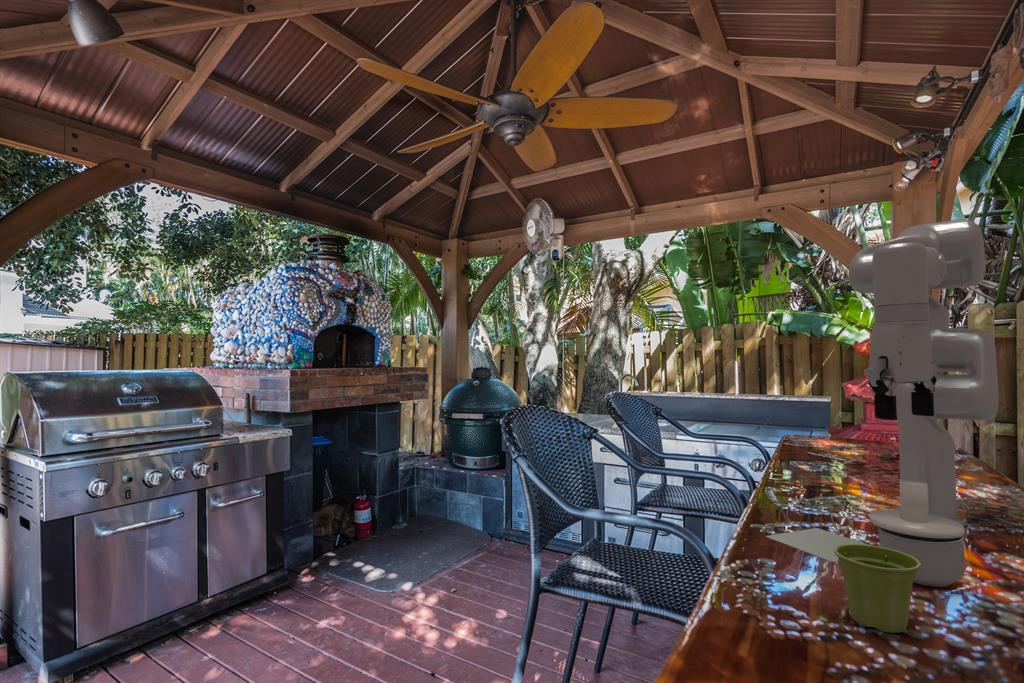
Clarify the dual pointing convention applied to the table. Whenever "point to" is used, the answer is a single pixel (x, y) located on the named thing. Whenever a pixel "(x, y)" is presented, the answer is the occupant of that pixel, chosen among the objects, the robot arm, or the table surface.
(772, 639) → the table surface
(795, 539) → the mat
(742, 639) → the table surface
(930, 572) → the teacup
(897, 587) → the plant pot
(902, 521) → the lid
